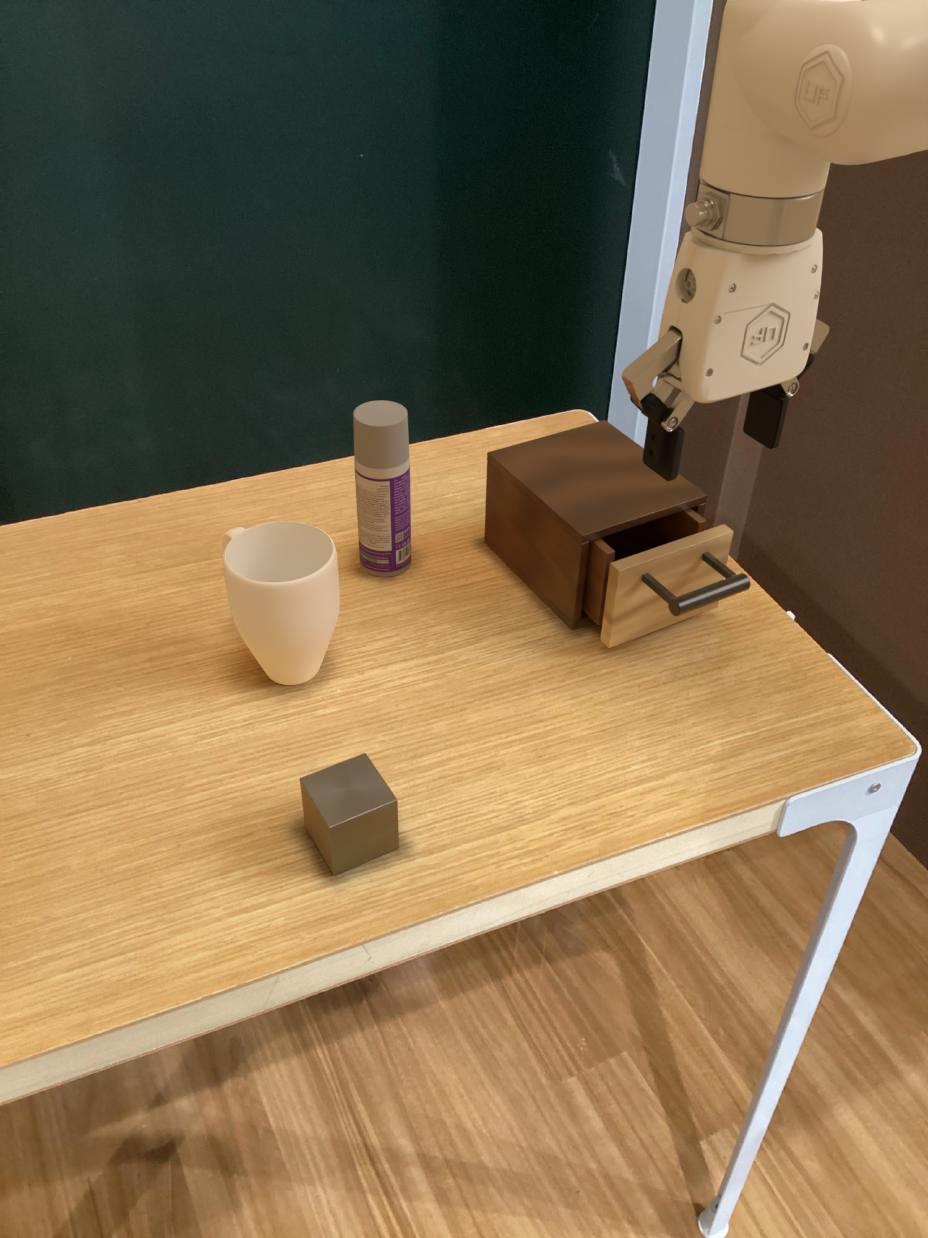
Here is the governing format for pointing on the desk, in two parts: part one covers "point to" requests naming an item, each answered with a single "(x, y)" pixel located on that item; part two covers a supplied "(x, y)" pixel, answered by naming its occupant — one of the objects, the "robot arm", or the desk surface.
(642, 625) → the drawer
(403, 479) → the container
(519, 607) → the desk surface
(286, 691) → the desk surface
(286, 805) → the desk surface
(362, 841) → the block
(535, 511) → the cabinet
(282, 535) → the mug
